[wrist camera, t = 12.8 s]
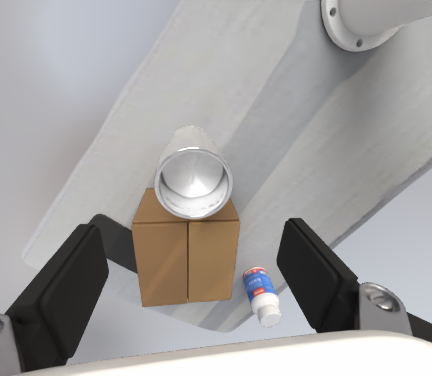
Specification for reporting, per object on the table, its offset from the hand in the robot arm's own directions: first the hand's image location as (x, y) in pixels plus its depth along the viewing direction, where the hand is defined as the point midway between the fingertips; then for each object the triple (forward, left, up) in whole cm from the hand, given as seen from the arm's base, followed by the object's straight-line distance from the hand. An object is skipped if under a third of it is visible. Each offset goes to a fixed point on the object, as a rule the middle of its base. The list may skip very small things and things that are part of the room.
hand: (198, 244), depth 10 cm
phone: (+19, -12, -23) cm, 32 cm away
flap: (+14, +3, -12) cm, 19 cm away
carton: (+14, 0, -22) cm, 26 cm away
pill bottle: (+28, +14, -22) cm, 38 cm away
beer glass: (0, 0, -22) cm, 22 cm away
